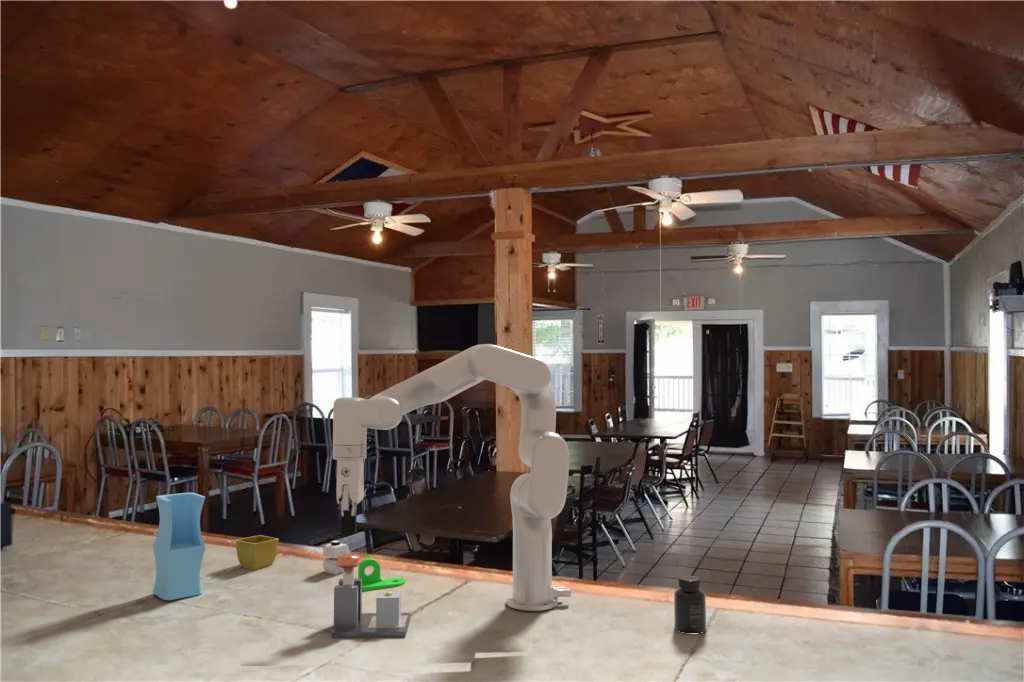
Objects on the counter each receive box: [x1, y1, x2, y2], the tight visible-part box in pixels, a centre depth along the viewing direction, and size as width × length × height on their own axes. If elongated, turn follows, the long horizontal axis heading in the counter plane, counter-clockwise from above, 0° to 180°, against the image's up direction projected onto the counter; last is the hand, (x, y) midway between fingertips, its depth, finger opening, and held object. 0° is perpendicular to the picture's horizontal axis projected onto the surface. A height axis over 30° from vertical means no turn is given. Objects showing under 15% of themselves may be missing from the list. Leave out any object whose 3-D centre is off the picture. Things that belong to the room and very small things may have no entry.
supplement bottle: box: [673, 575, 707, 633], centre depth 175 cm, size 7×7×12 cm
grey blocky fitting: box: [322, 540, 351, 575], centre depth 220 cm, size 6×7×10 cm
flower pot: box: [235, 534, 279, 571], centre depth 227 cm, size 9×9×9 cm
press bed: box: [331, 577, 412, 639], centre depth 178 cm, size 16×13×10 cm
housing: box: [375, 590, 402, 625], centre depth 178 cm, size 5×5×6 cm
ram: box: [337, 553, 361, 585], centre depth 178 cm, size 5×5×12 cm
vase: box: [152, 492, 206, 601], centre depth 205 cm, size 10×10×25 cm
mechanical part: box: [357, 557, 406, 592], centre depth 208 cm, size 12×6×8 cm, turn 111°
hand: (348, 533), depth 178 cm, fingers closed
